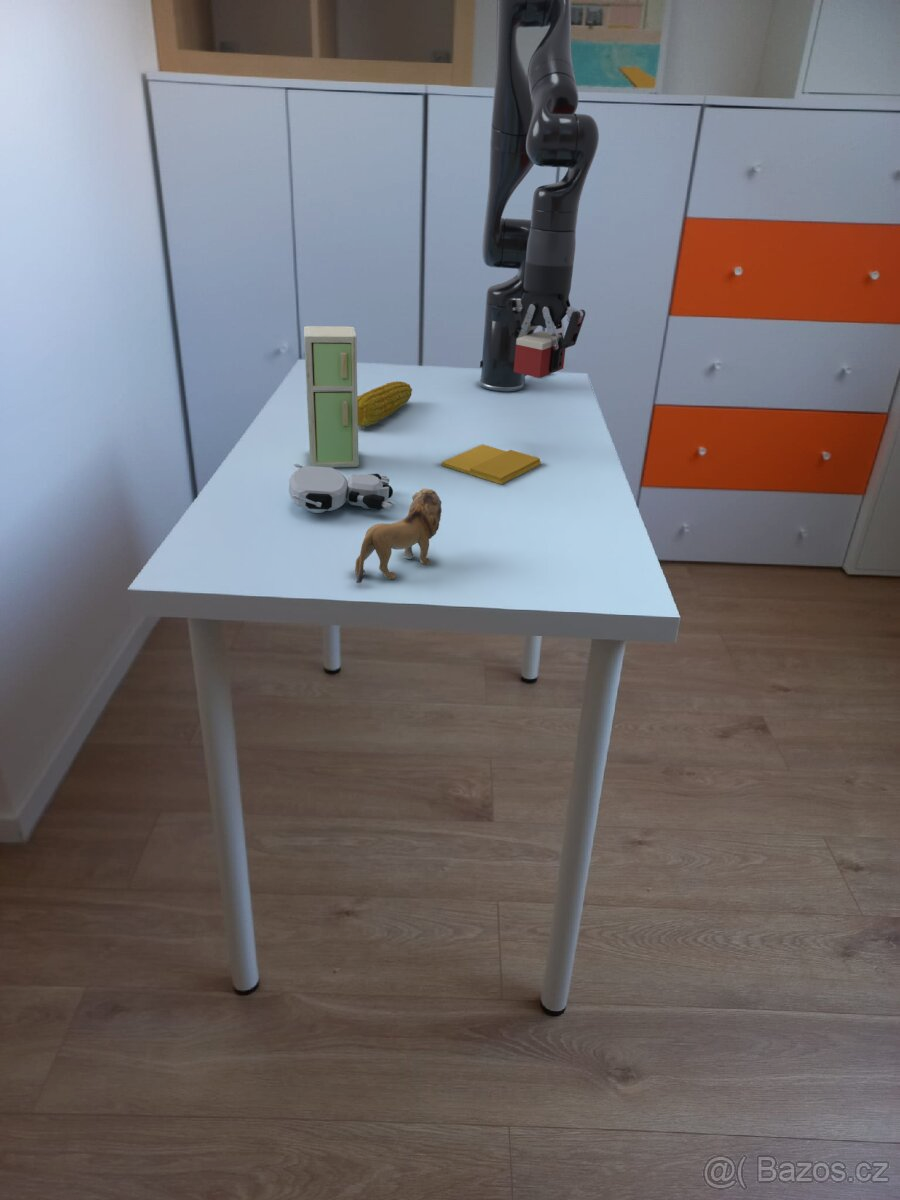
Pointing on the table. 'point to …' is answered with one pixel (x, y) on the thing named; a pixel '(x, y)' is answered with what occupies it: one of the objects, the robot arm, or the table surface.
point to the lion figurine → (403, 533)
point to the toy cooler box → (534, 354)
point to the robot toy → (338, 489)
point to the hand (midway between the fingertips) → (538, 367)
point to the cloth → (492, 463)
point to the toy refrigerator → (332, 395)
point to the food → (382, 402)
